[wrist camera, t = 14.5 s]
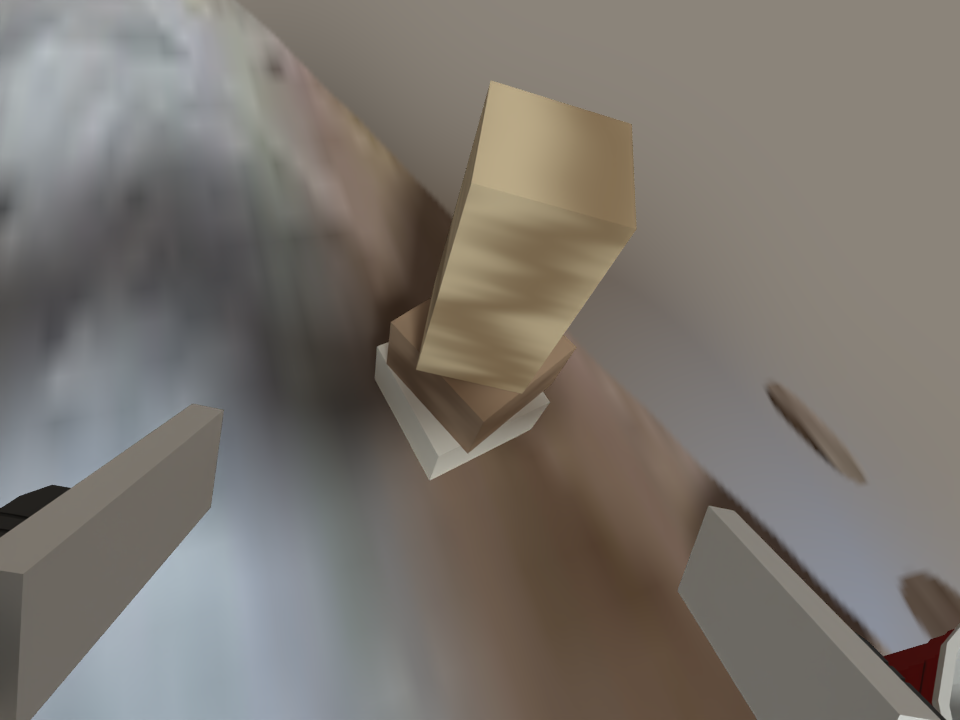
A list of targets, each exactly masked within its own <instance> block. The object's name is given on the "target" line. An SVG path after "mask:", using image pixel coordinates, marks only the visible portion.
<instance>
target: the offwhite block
mask: <svg viewBox="0 0 960 720" xmlns="http://www.w3.org/2000/svg"><path fill="white" fill-rule="evenodd" d="M388 345H389V342H388V343H385V344H382V345H380V346H377V354H376V368H375V381H376V382H377V384H378V386H379V388H380V390H381V392H382V394H383V395H384V397H385V399H386V401H387V403H388V405H389V406H390V408H391V410H392V412H393V414H394V416H395V418H396V419H397V421H398V423H399V425H400V427H401V429H402V431H403V432H404V434H405V436H406V438H407V440H408V442H409V443H410V445H411V447H412V449H413V451H414V453H415V455H416V456H417V458H418V460H419V462H420V464H421V466H422V468H423V469H424V471H425V473H426V475H427V477H428V479H429V480H432V479H434V478H436V477H438V476H440V475H441V474H443V473H445V472H447V471H449V470H451V469H453V468H455V467H457V466H459V465H461V464H463V463H465V462H467V461H469V460H471V459H473V458H475V457H477V456H479V455H481V454H483V453H485V452H487V451H489V450H491V449H493V448H495V447H497V446H499V445H501V444H503V443H505V442H507V441H509V440H511V439H513V438H515V437H517V436H519V435H521V434H523V433H525V432H527V431H529V430H531V429H532V427H533V426H534V424H535V423H536V422H537V420H538V419H539V417H540V416H541V414H542V413H543V412H544V410H545V409H546V407H547V406H548V404H549V403H550V402H549V400H548V399H547V397H546V396H545V394H544V393H543V392H542V393H540V394H539V395H538V396H537V397H536V398H534V399H533V400H532V401H531V402H530V403H528V404H527V405H526V406H525V407H524V408H522V409H521V410H520V411H519V412H517V413H516V414H515V415H514V416H513V417H511V418H510V419H509V420H508V421H507V422H505V423H504V424H503V425H502V426H501V427H499V428H498V429H497V430H496V431H495V432H493V433H492V434H491V435H490V436H489V437H487V438H486V439H485V440H484V441H482V442H481V443H480V444H479V445H478V446H476V447H475V448H474V449H473V450H472V451H470V452H469V453H468V454H467V453H466V451H465V450H464V449H463V448H462V447H461V446H460V445H459V443H458V442H457V441H456V440H455V439H454V438H453V437H452V436H451V435H450V434H449V432H448V431H447V430H446V429H445V428H444V427H443V426H442V425H441V424H440V422H439V421H438V420H437V419H436V418H435V417H434V416H433V415H432V414H431V412H430V411H429V410H428V409H427V408H426V407H425V406H424V405H423V404H422V403H421V401H420V400H419V399H418V398H417V397H416V396H415V395H414V394H413V393H412V391H411V390H410V389H409V388H408V387H407V386H406V385H405V384H404V383H403V381H402V380H401V379H400V378H399V377H398V376H397V375H396V374H395V373H394V372H393V370H392V369H391V368H390V367H389V366H388V365H387V364H386V363H387V354H388Z"/></svg>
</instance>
